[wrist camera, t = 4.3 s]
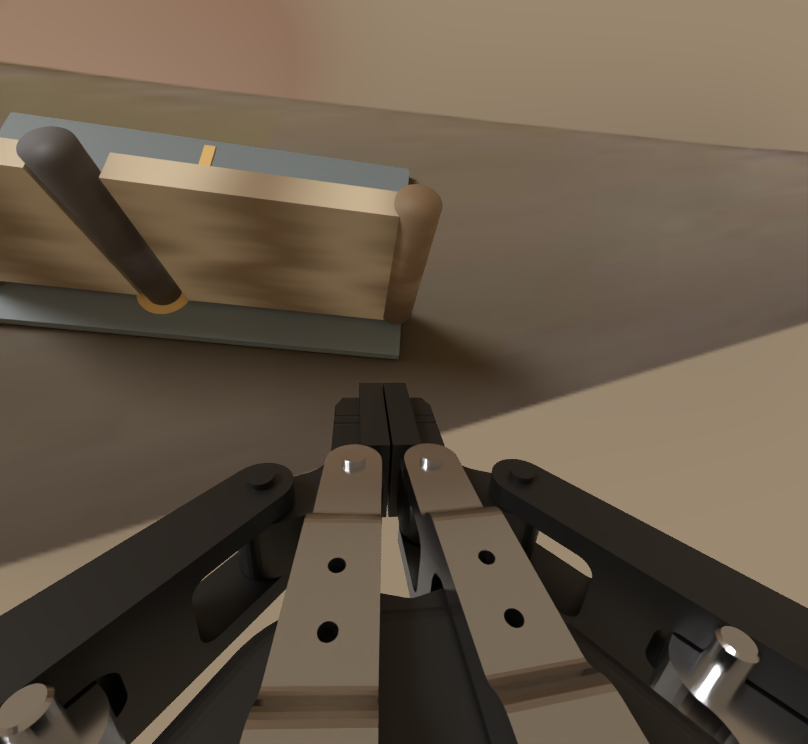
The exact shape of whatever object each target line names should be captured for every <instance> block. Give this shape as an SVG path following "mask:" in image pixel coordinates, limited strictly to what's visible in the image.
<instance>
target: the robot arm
mask: <svg viewBox="0 0 808 744" xmlns="http://www.w3.org/2000/svg"><path fill="white" fill-rule="evenodd" d="M387 505H388V516H389V517H398V520H399V532H398V544H399V548H400V552H401V557H402V562H403V566H404V571H405V575H406V580H407V585H408V589H409V594H410V598H403V597H398V596H393V595H387V594H382V593H380V575H381V574H380V572H381V525H382V517H386V511H387V510H386V509H387ZM539 531H541V532H542V533H544V534H545V535H547V536H549V537H550V538H552V539H553V540H555V541H556V542H558V543H560V544H561V545H563V546H564V547H566V548H567V549H569V550H571V551H572V552H574V553H575V554H577V555H578V556H580V557H581V558H582V559H583V560H585V562H587V564H588V565H589V567H590V569H591V571H592V578H589V577H587V576H585V575H584V574H582V573H581V572H579V571H578V570H576V569H575V568H573V567H572V566H570V565H569V564H567V563H566V562H564V561H563V560H561V559H560V558H558V557H557V556H555V555H554V554H552V553H551V552H549V551H548V550H546V549H545V548H543V547H542V546H540V545H538V544H537V543H536V539H537V535H538V532H539ZM237 551H238V553H236V554H235V555H234V556H233V557H231V558H230V559H229V560H227V561H226V562H225V563H224V564H223V565H221V566H220V567H219V568H217V569H216V570H215V571H214V572H213V573H211V574H210V575H209V576H207V577H206V578H205V579H204V580H202V579H203V578H204V577H205V576H206V575H208V574H209V573H210V572H211V571H213V570H214V569H215V568H216V567H218V566H219V565H220V564H221V563H223V562H224V561H225V560H226V559H228V558H229V557H230V556H232V555H233V554H234V553H235V552H237ZM201 580H202V581H201ZM286 588H287V589H286ZM285 589H286V592H285V596H284V601H283V604H282V608H281V612H280V616H279V620H277V621H276V622H274V623H272V624H271V625H269V626H267V627H266V628H264V629H263V630H262V631H260V632H259V633H257V634H256V635H255V636H253V637H252V638H251V639H250V640H249V641H248V642H247V643H246V644H245V645H243V646H242V647H241V648H240V649H239V650H238V651H237V652H236V653H235V655H233V656H232V658H231V659H230V660H229V661H228V662H227V663H226V664H225V665H224V666H223V667H222V668H221V669H220V671H219V672H218V673H217V674H216V675H215V676H214V677H213V678H212V679H211V680H210V681H209V682H208V683H207V685H206V686H205V687H204V688H203V689H202V690H201V691H200V692H199V693H198V694H197V695H196V696H195V698H194V699H193V700H192V701H191V702H190V703H189V704H188V705H187V706H186V707H185V708H184V709H183V710H182V712H181V713H180V714H179V715H178V716H177V717H176V718H175V719H174V720H173V721H172V722H171V723H170V725H169V726H168V727H167V728H166V729H165V730H164V731H163V732H162V734H160V736H158V738H157V739H156V740H155V741H154V742H153V743H152V744H808V608H806V607H804V606H802V605H800V604H798V603H796V602H795V601H793V600H791V599H789V598H787V597H785V596H783V595H781V594H779V593H778V592H775V591H774V590H772V589H770V588H768V587H766V586H764V585H762V584H760V583H759V582H756V581H755V580H753V579H751V578H749V577H747V576H745V575H743V574H741V573H739V572H737V571H736V570H734V569H732V568H730V567H728V566H726V565H724V564H722V563H720V562H719V561H717V560H715V559H713V558H711V557H709V556H707V555H705V554H703V553H701V552H699V551H698V550H695V549H693V548H692V547H690V546H688V545H686V544H684V543H682V542H680V541H679V540H677V539H674V538H673V537H671V536H669V535H667V534H665V533H663V532H661V531H660V530H657V529H656V528H654V527H652V526H650V525H648V524H646V523H644V522H642V521H640V520H639V519H637V518H635V517H633V516H631V515H629V514H627V513H625V512H623V511H621V510H620V509H618V508H616V507H614V506H612V505H610V504H608V503H606V502H604V501H602V500H601V499H598V498H597V497H595V496H593V495H591V494H589V493H587V492H585V491H583V490H581V489H580V488H578V487H576V486H574V485H572V484H570V483H568V482H566V481H564V480H562V479H560V478H559V477H557V476H555V475H553V474H551V473H549V472H547V471H545V470H543V469H542V468H540V467H538V466H536V465H533V464H532V463H529V462H526V461H522V460H517V459H506V460H502V461H499V462H498V463H496V464H495V465H494V467H493V469H492V473H488V472H483V471H478V470H474V469H470V468H467V467H464V466H462V465H461V463H460V461H459V459H458V457H457V456H456V454H455V453H454V452H453V451H451V450H450V449H448V448H446V447H445V446H444V443H443V440H442V437H441V435H440V432H439V429H438V426H437V424H436V421H435V418H434V416H433V412H432V409H431V407H430V405H429V404H428V403H426V402H425V401H424V400H423V399H422V398H409V395H408V392H407V388H406V384H405V383H383V387H382V384H381V383H359V398H342V399H341V400H340V401H339V403H338V404H337V405H336V406H335V417H334V427H333V437H332V448H331V452H330V453H329V454H328V456H327V457H326V460H325V464H324V465H323V466H322V467H320V468H319V469H317V470H315V471H312V472H310V473H306V474H303V475H298V476H294V477H293V474H292V473H291V471H290V470H289V469H288V468H286V467H285V466H282V465H279V464H274V463H262V464H256V465H253V466H249V467H247V468H245V469H243V470H241V471H239V472H238V473H236V474H234V475H233V476H231V477H229V478H228V479H226V480H224V481H223V482H221V483H219V484H218V485H216V486H214V487H213V488H211V489H209V490H208V491H206V492H204V493H203V494H201V495H199V496H198V497H196V498H195V499H193V500H191V501H190V502H188V503H186V504H185V505H183V506H181V507H180V508H178V509H176V510H175V511H173V512H171V513H170V514H168V515H166V516H165V517H163V518H161V519H160V520H158V521H157V522H155V523H153V524H152V525H150V526H148V527H147V528H145V529H143V530H142V531H140V532H138V533H137V534H135V535H134V536H132V537H130V538H128V539H127V540H125V541H123V542H122V543H120V544H118V545H117V546H115V547H114V548H112V549H110V550H109V551H107V552H105V553H104V554H102V555H101V556H99V557H97V558H95V559H94V560H92V561H90V562H89V563H87V564H85V565H84V566H82V567H80V568H79V569H77V570H75V571H74V572H72V573H71V574H69V575H67V576H66V577H64V578H62V579H61V580H59V581H57V582H56V583H54V584H52V585H51V586H49V587H47V588H46V589H44V590H43V591H41V592H39V593H37V594H36V595H34V596H33V597H31V598H29V599H28V600H26V601H24V602H23V603H21V604H19V605H18V606H16V607H14V608H13V609H11V610H9V611H8V612H6V613H4V614H3V615H1V616H0V744H130V743H131V742H132V741H133V740H134V739H136V737H138V736H139V735H140V734H141V732H143V730H145V728H146V727H148V726H149V725H150V724H151V723H152V721H153V720H155V718H157V717H158V716H159V715H160V714H161V713H162V712H163V711H164V710H165V709H166V708H167V706H169V705H170V704H171V702H173V701H174V700H175V699H176V697H178V696H179V695H180V694H181V693H182V692H183V691H184V690H185V689H186V688H187V687H188V686H189V685H190V684H191V683H192V682H193V681H194V680H195V679H196V678H197V677H198V676H199V675H200V674H201V673H202V672H203V671H204V670H205V669H206V668H207V667H208V666H209V665H210V664H211V663H212V662H213V661H214V660H215V659H216V658H217V657H218V656H219V655H220V654H221V653H222V652H223V651H224V650H225V649H226V648H227V647H228V646H229V645H230V644H231V643H232V642H233V641H234V640H235V639H236V638H237V637H238V636H239V635H240V634H241V633H242V632H243V631H244V630H245V629H246V628H247V627H248V626H249V625H250V624H251V623H252V622H253V621H254V620H255V619H256V618H257V617H258V616H259V615H260V614H261V613H262V612H263V611H264V610H265V609H266V608H267V607H268V606H269V605H270V604H271V603H272V602H273V601H274V600H275V599H276V598H277V597H278V596H279V595H280V594H281V593H282V592H283V591H284V590H285Z"/></svg>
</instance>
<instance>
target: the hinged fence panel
mask: <svg viewBox="0 0 808 744" xmlns="http://www.w3.org/2000/svg"><path fill="white" fill-rule="evenodd" d="M99 179H100V180H101V181H102V183H103V184H104V185H105V187H106V188H107V190H108V191H109V192H110V194H111V195H112V196H113V198H114V199H115V200H116V202H117V203H118V205H119V206H120V207H121V209H122V210H123V211H124V213H125V214H126V216H127V217H128V218H129V220H130V221H131V222H132V224H133V225H134V226H135V228H136V229H137V231H138V232H139V233H140V235H141V236H142V237H143V239H144V240H145V242H146V243H147V244H148V246H149V247H150V248H151V250H152V251H153V252H154V254H155V255H156V257H157V258H158V259H159V261H160V262H161V263H162V265H163V266H164V267H165V269H166V270H167V272H168V273H169V274H170V276H171V277H172V278H173V280H174V281H175V283H176V284H177V285H178V287H179V288H180V289H181V291H182V292H183V293H184V295H185V296H186V298H187V299H188V300H192V301H202V302H212V303H222V304H231V305H241V306H251V307H261V308H271V309H280V310H290V311H300V312H310V313H320V314H329V315H339V316H349V317H359V318H369V319H379V320H386V321H387V322H389V323H391V324H402V323H404V322H406V321H407V320H408V319H409V318H410V316H411V313H412V309H413V306H414V302H415V299H416V296H417V292H418V289H419V285H420V282H421V279H422V275H423V272H424V268H425V265H426V261H427V258H428V255H429V251H430V248H431V244H432V241H433V238H434V234H435V231H436V227H437V224H438V221H439V217H440V214H441V210H442V201H441V198H440V196H439V195H438V194H437V193H436V192H435V191H434V190H433V189H431V188H429V187H427V186H424V185H420V184H411V185H407V186H404V187H403V188H401V189H400V190H399V191H398V192H397V191H389V190H382V189H375V188H367V187H360V186H353V185H345V184H338V183H331V182H323V181H316V180H309V179H301V178H294V177H287V176H279V175H272V174H265V173H257V172H250V171H243V170H236V169H228V168H221V167H214V166H206V165H199V164H192V163H184V162H177V161H170V160H162V159H155V158H148V157H140V156H133V155H126V154H118V153H111V152H110V153H109V156H108V158H107V160H106V162H105V165H104V167H103V169H102V171H101V174H100V176H99Z"/></svg>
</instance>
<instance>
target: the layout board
mask: <svg viewBox="0 0 808 744" xmlns="http://www.w3.org/2000/svg"><path fill="white" fill-rule="evenodd" d="M47 126H55V127H61V128H65V129H67V130H69V131H71V132H72V133H73V134H74V135H75V136H76V137H77V139H78V140H79V142H80V143H81V144H82V146H83V147H84V149H85V150H86V151H87V153H88V154H89V156H90V157H91V158H92V160H93V161H94V163H95V164H96V165H97V167H98V168H99V170H100V171H102V169H103V167H104V165H105V162H106V160H107V158H108V156H109V153H110V152H111V153H118V154H126V155H133V156H140V157H148V158H155V159H162V160H170V161H177V162H184V163H192V164H199V165H206V166H214V167H221V168H228V169H236V170H243V171H250V172H257V173H265V174H272V175H279V176H287V177H294V178H301V179H309V180H316V181H323V182H331V183H338V184H345V185H353V186H360V187H367V188H375V189H382V190H389V191H397V192H398V191H399V190H400V189H401V188H403V187H404V186H407V185H408V183H409V169H405V168H398V167H391V166H384V165H377V164H370V163H363V162H356V161H349V160H342V159H335V158H328V157H321V156H314V155H307V154H301V153H294V152H287V151H280V150H273V149H266V148H259V147H252V146H245V145H238V144H231V143H224V142H217V141H210V140H203V139H196V138H189V137H182V136H175V135H168V134H161V133H154V132H147V131H140V130H133V129H126V128H119V127H112V126H105V125H98V124H91V123H84V122H77V121H70V120H63V119H56V118H49V117H42V116H35V115H28V114H21V113H14V112H11V113H10V114H9V116H8V118H7V119H6V121H5V123H4V124H3V126H2V128H1V129H0V137H1V138H9V139H16V140H20V138H21V137H22V136H23V135H25V134H26V133H28V132H29V131H31V130H34V129H37V128H41V127H47ZM0 323H5V324H16V325H26V326H37V327H48V328H59V329H70V330H81V331H92V332H103V333H114V334H125V335H135V336H146V337H157V338H168V339H179V340H190V341H201V342H212V343H223V344H234V345H244V346H255V347H266V348H277V349H288V350H299V351H310V352H321V353H332V354H343V355H353V356H364V357H375V358H386V359H397V360H398V358H399V351H400V332H401V324H391V323H389V322H387V321H386V320H379V319H369V318H359V317H349V316H339V315H329V314H320V313H310V312H300V311H290V310H280V309H271V308H261V307H251V306H241V305H231V304H222V303H212V302H202V301H192V300H188V299H187V298H186V296H185V295H184V293H183V292H182V294H181V296H180V297H179V299H178V300H176V301H175V302H173V303H171V304H169V305H156V304H154V303H152V302H151V301H150V300H149V299H148V298H147V297H146V296H145V295H144V294H143V293H141V295H133V294H123V293H114V292H104V291H94V290H84V289H74V288H65V287H55V286H45V285H35V284H25V283H16V282H7V283H5V284H4V285H2V286H0Z"/></svg>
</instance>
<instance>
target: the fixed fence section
mask: <svg viewBox="0 0 808 744" xmlns="http://www.w3.org/2000/svg"><path fill="white" fill-rule="evenodd" d="M100 174H101V171H100V170H99V168H98V167H97V165H96V164H95V163H94V161H93V160H92V158H91V157H90V156H89V154H88V153H87V151H86V150H85V149H84V147H83V146H82V144H81V143H80V142H79V140H78V139H77V137H76V136H75V135H74V134H73V133H72V132H71V131H69V130H67V129H65V128H61V127H55V126H47V127H41V128H37V129H34V130H31V131H29V132H28V133H26V134H25V135H23V136H22V137H21V138H20V140H16V139H9V138H1V137H0V286H2V285H4V284H5V283H7V282H16V283H25V284H35V285H45V286H55V287H65V288H74V289H84V290H94V291H104V292H114V293H123V294H133V295H141V293H143V294H144V295H145V296H146V297H147V298H148V299H149V300H150V301H151V302H152V303H154V304H156V305H169V304H171V303H173V302H175V301H176V300H178V299H179V297H180V296H181V294H182V291H181V289H180V288H179V287H178V285H177V284H176V283H175V281H174V280H173V278H172V277H171V276H170V274H169V273H168V272H167V270H166V269H165V267H164V266H163V265H162V263H161V262H160V261H159V259H158V258H157V257H156V255H155V254H154V252H153V251H152V250H151V248H150V247H149V246H148V244H147V243H146V242H145V240H144V239H143V237H142V236H141V235H140V233H139V232H138V231H137V229H136V228H135V226H134V225H133V224H132V222H131V221H130V220H129V218H128V217H127V216H126V214H125V213H124V211H123V210H122V209H121V207H120V206H119V205H118V203H117V202H116V200H115V199H114V198H113V196H112V195H111V194H110V192H109V191H108V190H107V188H106V187H105V185H104V184H103V183H102V181H101V180H100V179H99V176H100Z"/></svg>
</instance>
